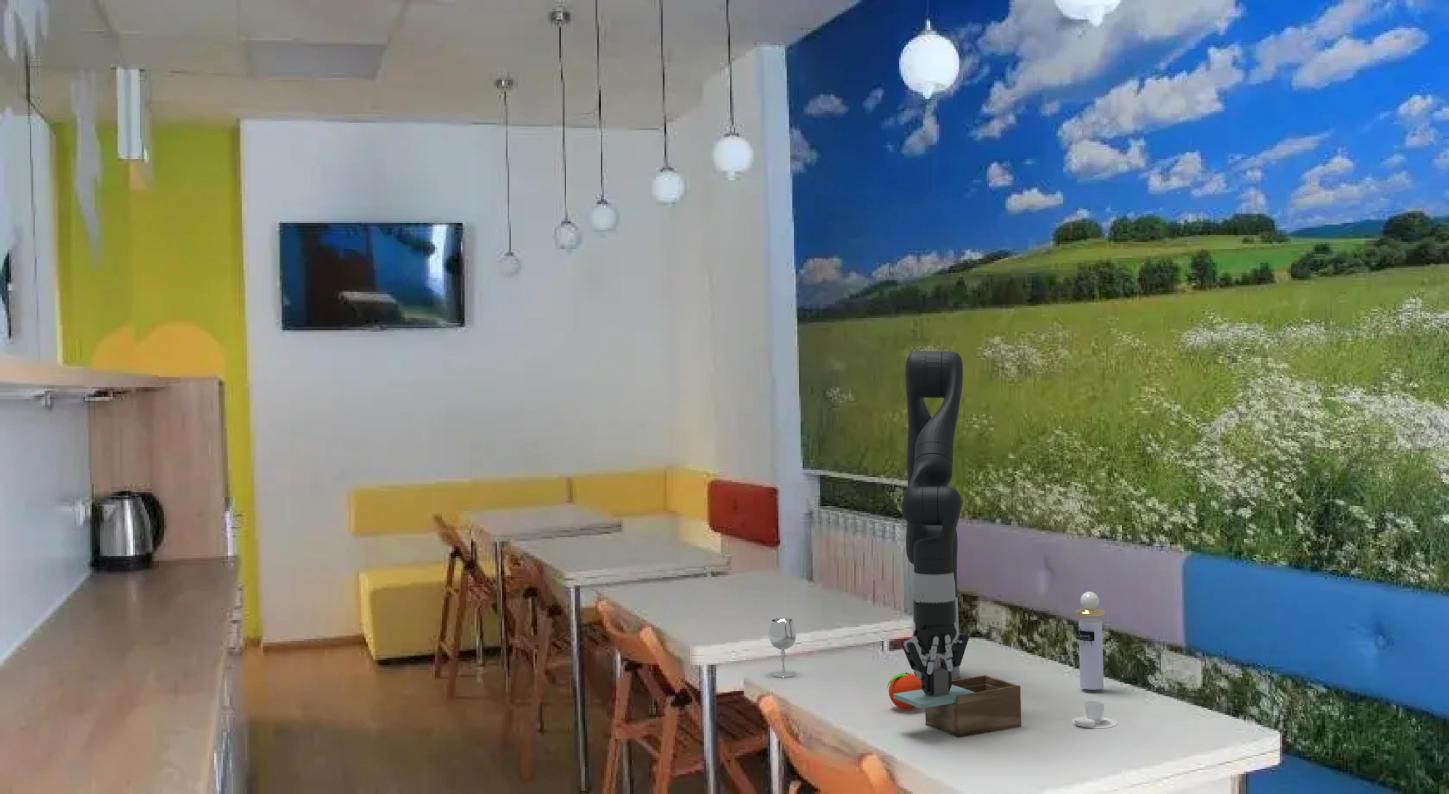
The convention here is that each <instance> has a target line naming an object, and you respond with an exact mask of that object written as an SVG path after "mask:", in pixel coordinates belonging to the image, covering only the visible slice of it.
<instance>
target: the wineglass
mask: <svg viewBox="0 0 1449 794" xmlns="http://www.w3.org/2000/svg"><path fill="white" fill-rule="evenodd" d="M768 634H769V642H770V644H771V645H772V647H774V648H776V649H778V650H781V651H780V657H781V664H782V666H781V670H780V671H778V672H775V673H773V677H775V678H776V677H777V678H790V677H793V676H794V675H795V674H794V673H793V672H790V671H787V670H786V668H785V658H786V651H785V650H787V649H789V648H791V647H793V646H794V645H795V642H796V634H797V633H796V628H795V624H794V619H792V618H785V617H783V618H779V617H778V618H774V619H771V622H770V626H769V633H768Z"/></svg>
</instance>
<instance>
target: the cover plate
mask: <svg viewBox="0 0 1449 794" xmlns="http://www.w3.org/2000/svg"><path fill="white" fill-rule="evenodd" d="M932 674H933V689H934V693H933V695H928V694H925V693H924V691H923V690H922V689H921V690H915V691H908V692H902V693H896V694H893V696H894V699H897V700H899V701H902V702H905V703H907V704H910V705H913V706H915V707H916V708H919V709H921V710H922V709H925V708H928V707H934V706H940V705H946V704H952V703H956V696H957V695H963V694H969V693H975V692H973V691H970V690H967V689H964V688H961V687H958V686H955V685H952V686H951V688H950V691H949V686H948V669H944V668H941V667H933V671H932Z"/></svg>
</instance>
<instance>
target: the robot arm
mask: <svg viewBox="0 0 1449 794" xmlns="http://www.w3.org/2000/svg"><path fill="white" fill-rule="evenodd" d="M963 365H964V364H963V359H962V356H961V355H960V354H959V353H958V352H956V351H948V350H947V351H946V350H915V351H912V352H910V353H909V354H908V356H907V358H906V362H905V392H906V405H907V427H908V428H907V446H906V447H907V449H906V450H907V451H906V471H907V472H906V475H907V488H906V489H905V492H904V495H903V497H902V501H901V513H902V516H903V518H904V520H905V521H906V531H905V532H906V533H905V550H906V551H905V552H906V557H907V560H908V562H910V564H912V565H913V582H912V594H913V595H912V601H913V603H912V606H913V622H914V630H913V631H912V637H911V638H909V639H907V640H905V639H904V640H902V641H901V642H900V643H901V647H902V649H903V652H904V655H905V656H906V659H907V661H908V664H909V666H910V668H911V670H913V675H915V676H917V677H918V678H919V679H920V680H921V682H922V683H921V684H922V685H921V687H922V690H923V691H924V693H925V694H928V695H933V693H934V689H933V674H932V671H933V667H941V668H944V669H948V686H949V691H950V688H951V686H952V680H958V679H960V677H961V675H960V666H961V664H962V661H963V657H964V656H965V652H966V649H967V645H968V643H969V639H970V638H969V636H970V635H968V634H966V633H962V632H960V629H959V628H960V627H959V595H958V594H959V593H958V550H959V549H958V545H959V543H958V542H959V539H958V531H957V528H958V527H957V526H958V522H959V520H960V516H961V512H962V508H963V507H962V506H963V501H962V500H963V499H962V496H961V494H960V492H959V491H958V490H957V489H956V488H955V487H953V486H950V485H949V484H950V482H951V481H952V477H953V466H954V463H953V462H954V440H955V432H956V427H957V423H958V418H959V412H960V405H961V400H962V399H961V398H962V390H963V383H964V382H963V379H964V367H963ZM924 398H929V399H930V398H931V399H943V402H942V403H941V405H940V406H939V408H938V409H937V411H936V412H935V413H934V415H933V416H931V414H930V412H929V410H928V408H927V404H926V402H925V400H924Z"/></svg>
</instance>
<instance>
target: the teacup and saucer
mask: <svg viewBox="0 0 1449 794" xmlns="http://www.w3.org/2000/svg"><path fill="white" fill-rule="evenodd" d="M1084 710H1085V715H1084V716H1083V715H1082V716H1077V717H1074V718H1073V719H1072V720H1071V723H1072V724H1073V725H1075V726H1079V727H1081V728H1087V729H1111V728H1113V727H1116V726H1117V725H1118V722H1117V720H1115V719H1112V718H1110V717H1105V716H1103V714H1104V710H1105V704H1104V703H1103V702H1102V701H1101V700H1092V699H1091V700H1089V699H1088V700H1086V701H1084ZM1102 720H1104V721H1107V722H1110V724H1109V725H1106V726H1096V725H1099V724H1101V722H1102Z"/></svg>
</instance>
